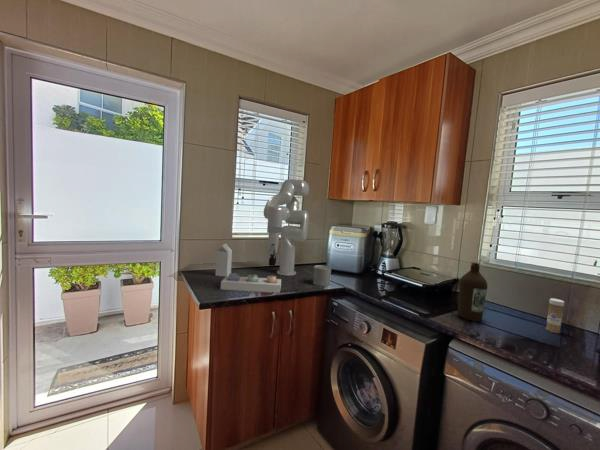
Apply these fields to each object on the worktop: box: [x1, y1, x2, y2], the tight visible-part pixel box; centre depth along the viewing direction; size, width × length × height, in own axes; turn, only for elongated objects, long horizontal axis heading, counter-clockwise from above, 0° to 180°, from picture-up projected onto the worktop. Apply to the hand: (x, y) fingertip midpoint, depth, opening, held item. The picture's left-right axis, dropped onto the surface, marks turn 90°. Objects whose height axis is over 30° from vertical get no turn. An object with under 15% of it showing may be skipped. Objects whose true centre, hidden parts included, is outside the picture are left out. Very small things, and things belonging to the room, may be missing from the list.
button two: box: [229, 272, 240, 281], centre depth 149 cm, size 5×5×4 cm
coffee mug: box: [312, 264, 332, 287], centre depth 167 cm, size 13×10×10 cm
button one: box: [266, 275, 277, 283], centre depth 149 cm, size 5×5×4 cm
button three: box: [247, 274, 258, 282], centre depth 149 cm, size 5×5×4 cm
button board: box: [220, 276, 282, 294], centre depth 149 cm, size 12×30×4 cm, turn 91°
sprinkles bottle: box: [545, 297, 565, 334], centre depth 117 cm, size 5×5×14 cm
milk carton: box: [215, 243, 233, 278], centre depth 170 cm, size 7×7×19 cm
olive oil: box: [457, 261, 488, 322], centre depth 126 cm, size 11×11×25 cm
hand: (272, 264), depth 148 cm, fingers open, 4 cm apart
